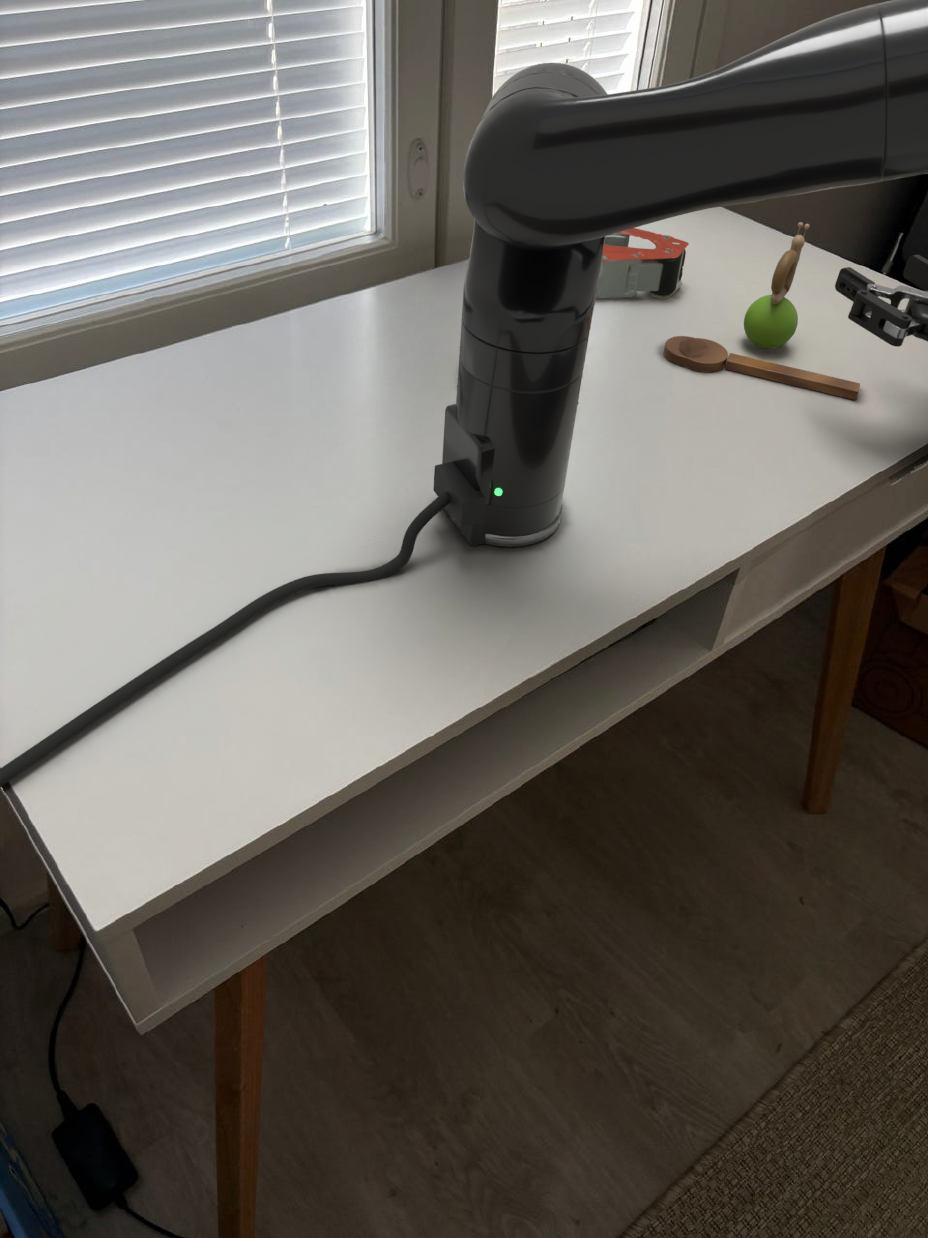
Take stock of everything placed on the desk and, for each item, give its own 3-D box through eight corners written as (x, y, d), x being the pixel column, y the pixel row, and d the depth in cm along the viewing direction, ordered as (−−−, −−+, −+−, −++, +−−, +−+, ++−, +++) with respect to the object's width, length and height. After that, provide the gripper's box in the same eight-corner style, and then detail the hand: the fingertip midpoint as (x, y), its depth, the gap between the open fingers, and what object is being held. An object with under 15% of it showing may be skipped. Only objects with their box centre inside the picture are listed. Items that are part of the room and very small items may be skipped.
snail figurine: (796, 337, 109) (831, 228, 101) (782, 363, 105) (817, 251, 97) (748, 324, 111) (778, 215, 103) (731, 348, 107) (762, 237, 98)
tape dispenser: (537, 347, 107) (711, 322, 111) (540, 301, 103) (720, 278, 107) (492, 265, 119) (651, 245, 122) (493, 221, 115) (657, 202, 118)
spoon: (858, 383, 103) (861, 374, 102) (854, 408, 99) (857, 399, 99) (669, 339, 107) (671, 330, 107) (658, 361, 104) (660, 352, 103)
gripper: (1088, 299, 85) (945, 221, 95) (967, 326, 79) (829, 241, 89) (1046, 378, 90) (915, 296, 100) (929, 408, 85) (803, 319, 95)
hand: (874, 270), depth 95 cm, fingers open, 8 cm apart
